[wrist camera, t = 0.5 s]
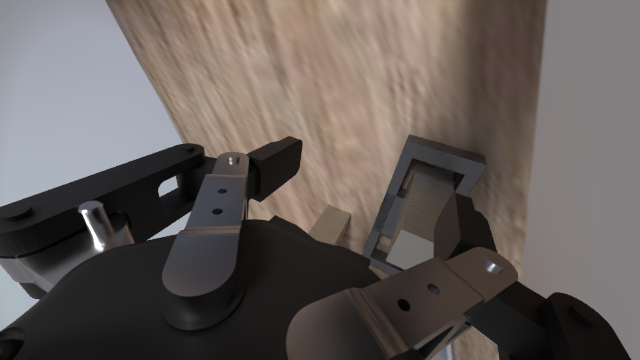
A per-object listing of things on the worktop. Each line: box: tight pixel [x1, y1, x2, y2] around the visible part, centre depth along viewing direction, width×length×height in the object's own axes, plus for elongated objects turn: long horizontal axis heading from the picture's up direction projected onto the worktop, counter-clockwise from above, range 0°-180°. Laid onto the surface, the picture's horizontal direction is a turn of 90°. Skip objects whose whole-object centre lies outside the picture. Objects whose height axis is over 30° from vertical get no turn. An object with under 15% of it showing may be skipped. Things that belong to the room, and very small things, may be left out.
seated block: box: [386, 160, 454, 270], centre depth 26 cm, size 4×4×15 cm
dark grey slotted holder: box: [362, 134, 487, 275], centre depth 35 cm, size 24×9×2 cm, turn 171°
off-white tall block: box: [308, 205, 351, 246], centre depth 37 cm, size 4×4×15 cm
